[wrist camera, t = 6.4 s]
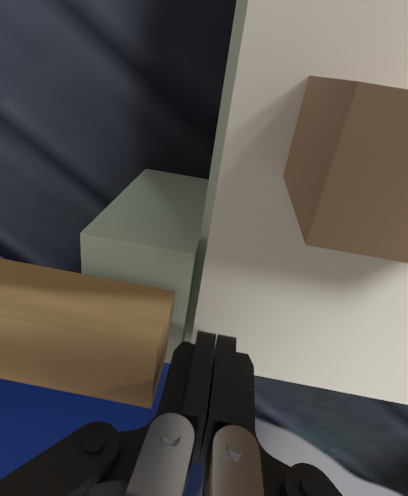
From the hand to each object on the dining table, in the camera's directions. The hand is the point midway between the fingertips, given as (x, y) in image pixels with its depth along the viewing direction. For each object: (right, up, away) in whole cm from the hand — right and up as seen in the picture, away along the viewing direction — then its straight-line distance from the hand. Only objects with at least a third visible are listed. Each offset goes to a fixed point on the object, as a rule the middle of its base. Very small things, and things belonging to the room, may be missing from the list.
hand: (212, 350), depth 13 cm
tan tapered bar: (-7, +2, +1) cm, 7 cm away
